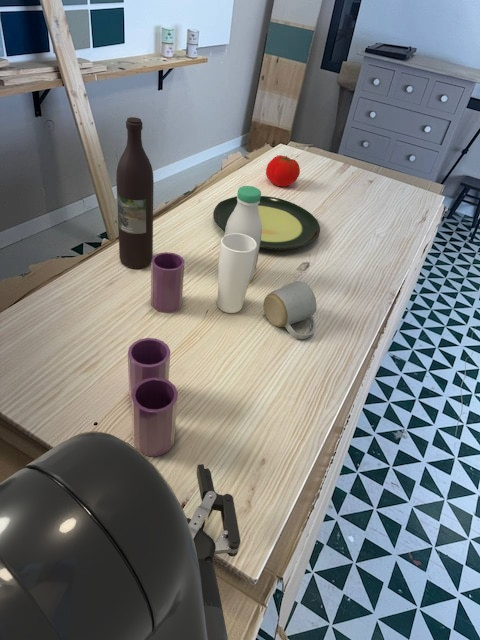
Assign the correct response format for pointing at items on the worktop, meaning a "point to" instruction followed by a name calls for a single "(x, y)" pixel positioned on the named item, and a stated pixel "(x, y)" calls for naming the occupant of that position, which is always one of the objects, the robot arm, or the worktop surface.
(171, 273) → the far cup
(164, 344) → the pair cup
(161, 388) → the front cup
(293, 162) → the tomato
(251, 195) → the milk bottle
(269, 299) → the ceramic mug
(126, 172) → the wine bottle
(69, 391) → the worktop surface
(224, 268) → the drinking glass
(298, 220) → the plate
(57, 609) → the robot arm
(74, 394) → the worktop surface
